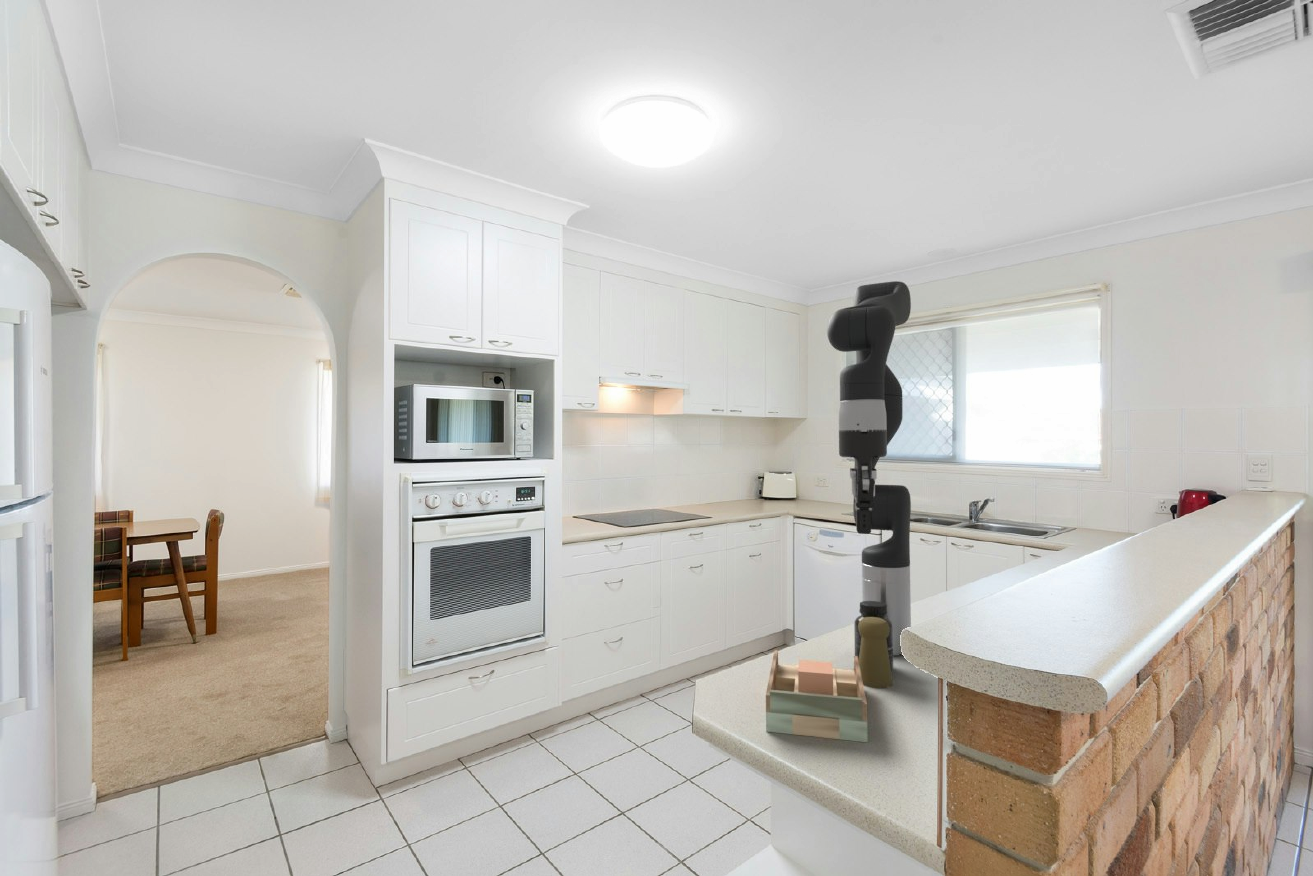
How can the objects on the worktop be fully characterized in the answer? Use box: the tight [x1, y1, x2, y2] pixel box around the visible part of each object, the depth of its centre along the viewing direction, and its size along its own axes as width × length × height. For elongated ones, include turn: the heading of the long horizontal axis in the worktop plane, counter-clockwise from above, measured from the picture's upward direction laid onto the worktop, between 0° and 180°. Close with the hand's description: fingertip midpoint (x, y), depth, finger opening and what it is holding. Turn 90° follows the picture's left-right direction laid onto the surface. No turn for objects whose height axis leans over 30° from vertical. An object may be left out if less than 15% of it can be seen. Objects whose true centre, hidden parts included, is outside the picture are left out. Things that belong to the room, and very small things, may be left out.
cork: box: [858, 617, 894, 689], centre depth 108 cm, size 6×6×11 cm
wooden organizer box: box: [765, 649, 868, 743], centre depth 98 cm, size 20×14×6 cm
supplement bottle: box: [853, 601, 894, 672], centre depth 114 cm, size 7×7×12 cm
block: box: [798, 659, 834, 695], centre depth 93 cm, size 5×5×5 cm
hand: (863, 533), depth 102 cm, fingers closed
